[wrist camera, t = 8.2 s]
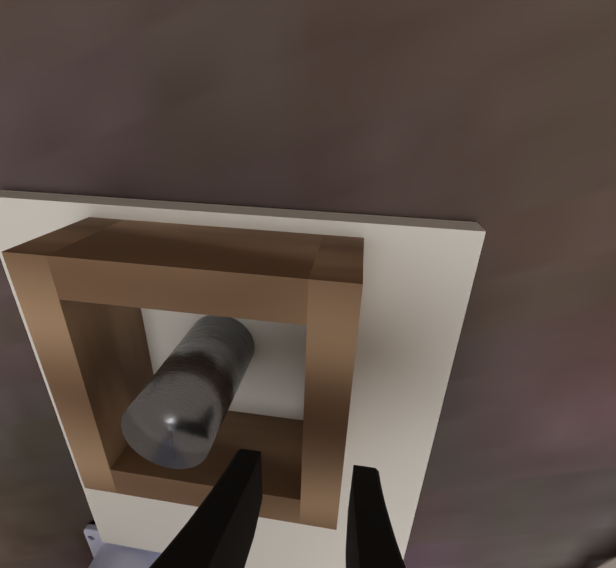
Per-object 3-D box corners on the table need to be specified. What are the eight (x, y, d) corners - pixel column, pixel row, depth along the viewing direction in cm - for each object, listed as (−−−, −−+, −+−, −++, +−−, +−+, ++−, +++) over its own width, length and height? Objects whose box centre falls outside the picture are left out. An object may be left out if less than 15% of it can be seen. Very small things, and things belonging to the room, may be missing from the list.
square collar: (342, 448, 18) (336, 529, 15) (136, 418, 20) (85, 487, 16) (363, 237, 14) (363, 284, 10) (89, 216, 15) (1, 251, 11)
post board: (393, 574, 24) (401, 719, 19) (112, 524, 27) (42, 640, 21) (476, 221, 14) (554, 303, 8) (3, 190, 16) (-198, 236, 10)
